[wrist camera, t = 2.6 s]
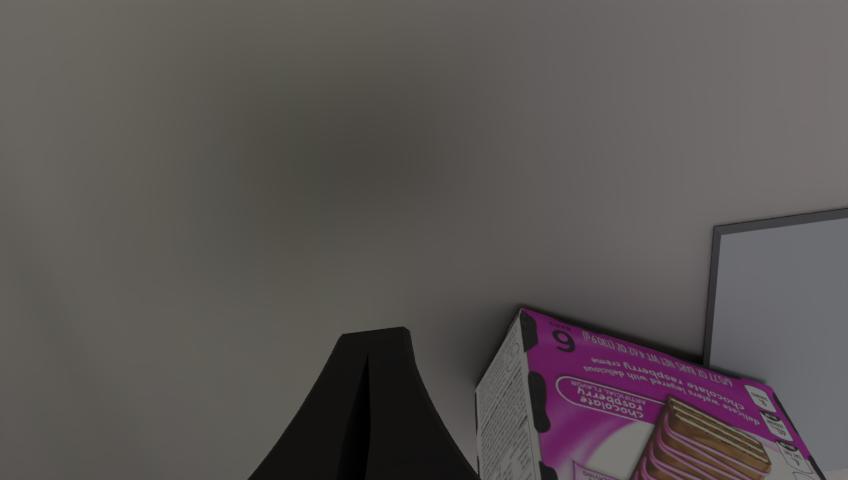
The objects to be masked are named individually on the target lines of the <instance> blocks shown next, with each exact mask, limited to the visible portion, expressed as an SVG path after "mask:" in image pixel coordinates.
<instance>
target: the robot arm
mask: <svg viewBox="0 0 848 480" xmlns="http://www.w3.org/2000/svg"><path fill="white" fill-rule="evenodd" d="M248 480H481V479H480V477H479V476H478V475H477V473H476V472H475V471H474V469H473V468H472V466H471V465H470V464H469V462H468V461H467V460H466V458H465V457H464V455H463V454H462V452H461V451H460V449H459V448H458V446H457V445H456V443H455V442H454V440H453V439H452V437H451V435H450V434H449V432H448V430H447V429H446V427H445V425H444V423H443V422H442V420H441V418H440V416H439V414H438V413H437V411H436V409H435V407H434V405H433V403H432V401H431V399H430V397H429V395H428V393H427V390H426V388H425V386H424V384H423V381H422V379H421V377H420V374H419V372H418V369H417V366H416V363H415V357H414V352H413V346H412V341H411V335H410V331H409V330H408V329H406V328H405V327H395V328H387V329H379V330H371V331H363V332H355V333H347V334H342V336H341V337H340V338H339V339H338V341H337V343H336V345H335V347H334V349H333V351H332V353H331V355H330V357H329V359H328V361H327V363H326V364H325V366H324V368H323V370H322V372H321V374H320V375H319V377H318V379H317V381H316V383H315V384H314V386H313V388H312V389H311V391H310V393H309V394H308V396H307V398H306V399H305V401H304V403H303V404H302V406H301V407H300V409H299V411H298V412H297V414H296V415H295V417H294V418H293V420H292V421H291V423H290V424H289V425H288V427H287V428H286V430H285V431H284V433H283V434H282V436H281V437H280V439H279V440H278V442H277V443H276V444H275V446H274V447H273V448H272V450H271V451H270V452H269V454H268V455H267V456H266V458H265V459H264V460H263V461H262V463H261V464H260V465H259V466H258V468H257V469H256V470H255V471H254V472H253V474H252V475H251V476H250V477H249V479H248Z"/></svg>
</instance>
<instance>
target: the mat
mask: <svg viewBox="0 0 848 480" xmlns="http://www.w3.org/2000/svg"><path fill="white" fill-rule="evenodd" d="M703 366H706V367H709V368H713V369H716V370H719V371H722V372H725V373H728V374H731V375H735V376H738V377H742V378H745V379H748V380H751V381H754V382H758V383H761V384H764V385H767V386H770V387H771V388H773V390H774V392H775V394H776V396H777V397H778V399H779V401H780V402H781V404H782V406H783V407H784V409H785V411H786V413H787V414H788V416H789V418H790V419H791V421H792V423H793V425H794V426H795V428H796V430H797V431H798V433H799V435H800V437H801V438H802V440H803V442H804V443H805V445H806V447H807V449H808V450H809V452H810V453H811V455H812V457H813V458H814V460H815V462H816V463H817V465H818V467H819V468H820V470H821V471H829V470H837V469H846V468H848V209H841V210H834V211H827V212H819V213H812V214H805V215H798V216H790V217H783V218H776V219H768V220H761V221H754V222H747V223H739V224H732V225H725V226H717V227H714V237H713V249H712V261H711V273H710V285H709V297H708V309H707V321H706V333H705V345H704V357H703Z"/></svg>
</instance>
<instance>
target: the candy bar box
mask: <svg viewBox="0 0 848 480" xmlns="http://www.w3.org/2000/svg"><path fill="white" fill-rule="evenodd" d="M475 415H476V435H477V462H478V476H479V477H480V479H481V480H826V478H825V477H824V475H823V473H822V472H821V470H820V468H819V467H818V465H817V463H816V462H815V460H814V458H813V457H812V455H811V453H810V452H809V450H808V449H807V447H806V445H805V443H804V442H803V440H802V438H801V437H800V435H799V433H798V431H797V430H796V428H795V426H794V425H793V423H792V421H791V419H790V418H789V416H788V414H787V413H786V411H785V409H784V407H783V406H782V404H781V402H780V401H779V399H778V397H777V396H776V394H775V392H774V390H773V388H771V387H770V386H767V385H764V384H761V383H758V382H754V381H751V380H748V379H745V378H742V377H738V376H735V375H731V374H728V373H725V372H722V371H719V370H716V369H713V368H709V367H706V366H703V365H700V364H696V363H693V362H690V361H687V360H684V359H681V358H677V357H674V356H671V355H668V354H665V353H662V352H659V351H656V350H653V349H649V348H646V347H643V346H640V345H637V344H634V343H631V342H628V341H624V340H621V339H618V338H614V337H611V336H608V335H605V334H602V333H599V332H596V331H593V330H589V329H586V328H583V327H580V326H577V325H574V324H571V323H568V322H565V321H562V320H559V319H556V318H552V317H549V316H546V315H543V314H540V313H537V312H534V311H531V310H528V309H525V308H521V309H520V311H519V312H518V314H517V316H516V317H515V319H514V321H513V322H512V324H511V325H510V328H509V330H508V332H507V334H506V337H505V339H504V341H503V343H502V345H501V347H500V349H499V351H498V352H497V354H496V355H495V357H494V359H493V360H492V362H491V364H490V365H489V367H488V369H487V370H486V372H485V374H484V376H483V378H482V380H481V382H480V383H479V385H478V387H477V388H476V391H475Z"/></svg>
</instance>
